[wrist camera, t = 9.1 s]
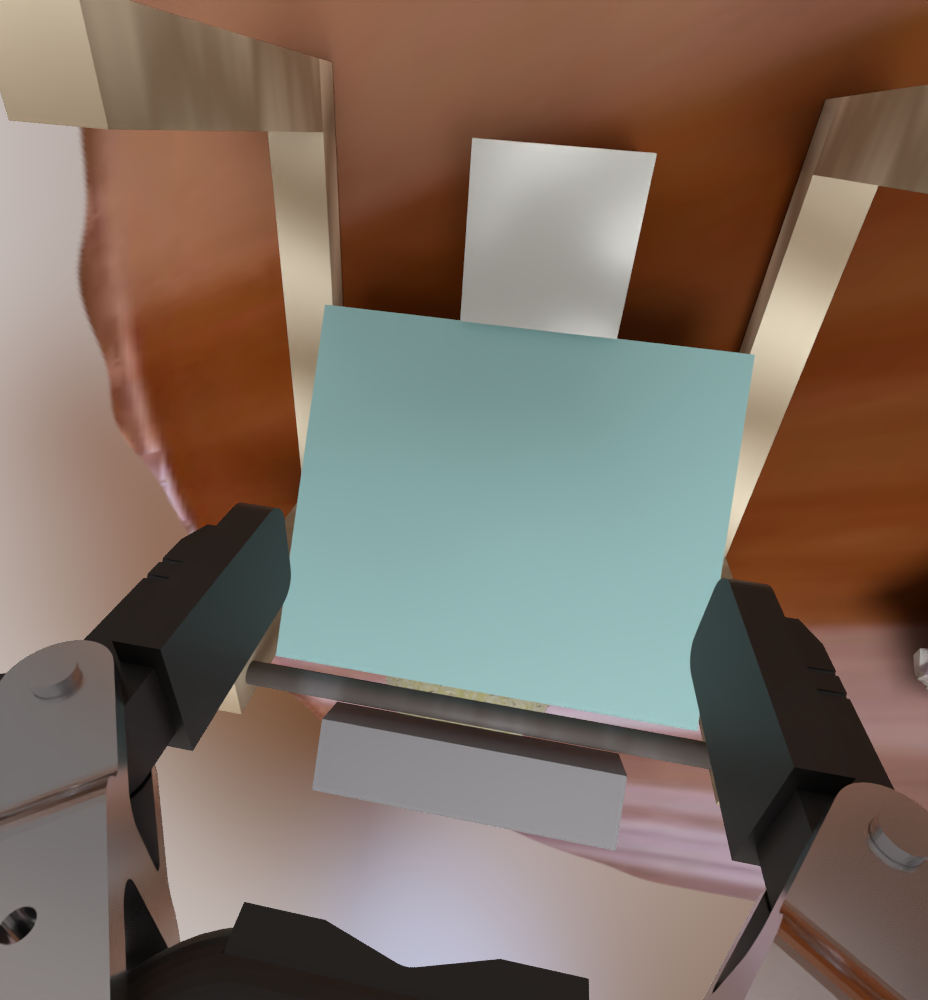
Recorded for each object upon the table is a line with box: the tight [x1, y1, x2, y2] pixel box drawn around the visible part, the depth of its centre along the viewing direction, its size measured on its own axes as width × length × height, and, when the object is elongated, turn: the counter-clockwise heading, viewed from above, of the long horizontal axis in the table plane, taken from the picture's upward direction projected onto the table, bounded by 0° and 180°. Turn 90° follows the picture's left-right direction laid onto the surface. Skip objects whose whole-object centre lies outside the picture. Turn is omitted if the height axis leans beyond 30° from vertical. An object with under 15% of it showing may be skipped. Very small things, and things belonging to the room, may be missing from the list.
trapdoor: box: [276, 305, 755, 851], centre depth 19 cm, size 16×14×2 cm
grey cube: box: [460, 138, 657, 339], centre depth 19 cm, size 5×5×5 cm
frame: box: [0, 0, 928, 805], centre depth 19 cm, size 19×20×12 cm
